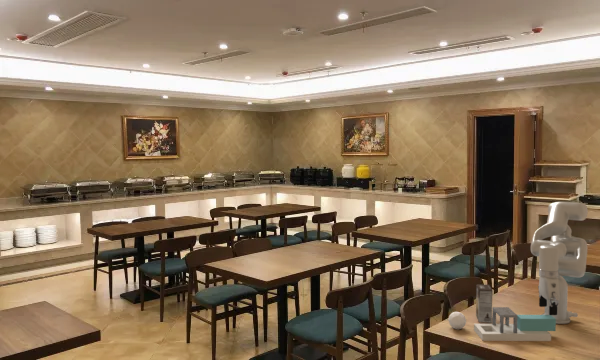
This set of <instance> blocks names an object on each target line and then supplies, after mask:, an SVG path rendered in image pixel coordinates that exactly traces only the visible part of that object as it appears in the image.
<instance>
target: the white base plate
mask: <svg viewBox="0 0 600 360" xmlns="http://www.w3.org/2000/svg"><path fill="white" fill-rule="evenodd" d="M473 331H474V332H475V334H476V335H477V336H478V337H479V339H480V340H482V341H484V342H485V341H487V342H488V341H490V342H492V341H493V342H494V341H495V342H496V341H497V342H500V341H501V342H502V341H503V342H505V341H506V342H508V341H509V342H510V341H511V342H551V341H552V334H551V333H550V331H520V330H519V329H518V328H517V333H513V323H509V325H505V323H504V331H503V333H500V323H496V325H492V323H473Z"/></svg>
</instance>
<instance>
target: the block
mask: <svg viewBox="0 0 600 360" xmlns="http://www.w3.org/2000/svg"><path fill="white" fill-rule="evenodd" d="M556 326H557V324H556V319H555V318H554V317H553V316H551V315H542V314H517V328H518V329H519V330H520V331H548V332H556V329H557V328H556Z"/></svg>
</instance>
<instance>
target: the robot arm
mask: <svg viewBox="0 0 600 360" xmlns="http://www.w3.org/2000/svg"><path fill="white" fill-rule="evenodd" d="M588 210H589V209H588V207H587V205H586V203H583V202H573V201H570V202H569V201H555V202H552V203H551V202H550V204H549V205H548V207H547V213H548V214H547V219H546V221H547V222H546V223H545V224H543V225H542V226H540V227H539V228H537V230H535V232H534V233H533V234H532V238H531V242H530V252H531V254H532V255H533V256H535V257H538V263H539V264H538V277H539V280H538V285H537V286H538V298H539V299H538V306H539V307H540V308H541V307H542V308H543V307H544V313H542V314H541V315H551V316H553V317H554V318H555V319H556V325H566V324H567V325H568V324H569V323H571V317H573V318H576V317H577V318H578V317H579V316H578V315H579V314H578V312H572V311H568V289H569V288H568V287H569V286H568V282H567V281H566V279H565V278H564V277H571V278H582V277H584V276H585V274H586V269H587V260H588V259H587V258H588V243H587V241H586V239H584V238H581V237H576V236H575V237H574V236H572V231H573V230H572V229H571V227H570V225H568V222H569V220H570V221H584V220H586V219H587V218H588V213H589V212H588ZM547 238H550V240H544V239H547Z"/></svg>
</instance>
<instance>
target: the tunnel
mask: <svg viewBox="0 0 600 360" xmlns="http://www.w3.org/2000/svg"><path fill="white" fill-rule="evenodd" d="M517 315H518V314H516V312H514V310H512V309H511V308H510V307H508V306H505V307H503V306H499V307H498V306H492V323H491V324H492V325H496V324H497V316H498V317H499V324H500V333H503V331H504V324H505V325H509V324H510V318H513V320H512V321H513V322H512V324H513V333H517ZM504 319H505V321H504Z"/></svg>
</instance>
